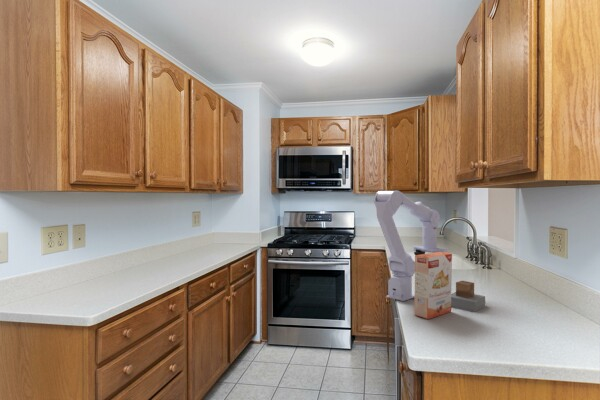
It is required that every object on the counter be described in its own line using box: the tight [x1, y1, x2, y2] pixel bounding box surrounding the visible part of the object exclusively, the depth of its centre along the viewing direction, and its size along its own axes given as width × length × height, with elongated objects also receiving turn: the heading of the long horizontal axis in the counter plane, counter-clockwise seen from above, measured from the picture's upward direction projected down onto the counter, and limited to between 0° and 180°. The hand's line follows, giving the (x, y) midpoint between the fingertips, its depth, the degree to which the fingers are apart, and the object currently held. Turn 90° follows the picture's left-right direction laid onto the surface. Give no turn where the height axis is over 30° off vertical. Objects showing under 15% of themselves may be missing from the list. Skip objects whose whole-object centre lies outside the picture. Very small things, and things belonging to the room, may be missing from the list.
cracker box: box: [413, 252, 453, 320], centre depth 125 cm, size 14×6×21 cm, turn 126°
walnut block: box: [455, 280, 475, 298], centre depth 134 cm, size 5×5×5 cm
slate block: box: [451, 291, 486, 313], centre depth 134 cm, size 10×10×4 cm
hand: (429, 269), depth 154 cm, fingers open, 7 cm apart
